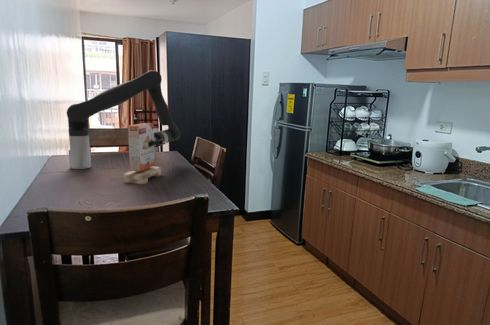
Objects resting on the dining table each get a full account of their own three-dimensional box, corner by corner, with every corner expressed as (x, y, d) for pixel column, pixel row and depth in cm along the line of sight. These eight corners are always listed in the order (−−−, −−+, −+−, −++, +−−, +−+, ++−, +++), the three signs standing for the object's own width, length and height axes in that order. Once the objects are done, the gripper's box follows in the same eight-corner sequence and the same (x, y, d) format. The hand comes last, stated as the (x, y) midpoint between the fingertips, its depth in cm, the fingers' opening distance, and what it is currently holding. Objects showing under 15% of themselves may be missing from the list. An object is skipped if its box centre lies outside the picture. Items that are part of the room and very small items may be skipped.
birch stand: (123, 182, 147) (123, 174, 146) (142, 173, 164) (142, 165, 163) (144, 184, 145) (143, 175, 144) (161, 174, 163) (161, 167, 162)
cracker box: (141, 172, 147) (139, 125, 142) (129, 171, 148) (126, 125, 143) (155, 165, 160) (154, 122, 155) (144, 164, 161) (142, 122, 156)
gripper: (145, 130, 168) (128, 135, 152) (171, 132, 166) (156, 136, 150) (145, 145, 170) (128, 150, 154) (171, 146, 168) (157, 152, 151)
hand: (142, 143), depth 152 cm, fingers closed on cracker box, 6 cm apart
